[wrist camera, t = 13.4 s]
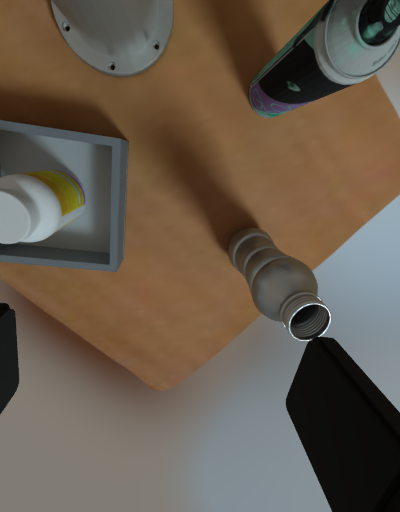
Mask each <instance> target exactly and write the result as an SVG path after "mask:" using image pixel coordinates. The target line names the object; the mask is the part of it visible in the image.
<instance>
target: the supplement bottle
mask: <svg viewBox="0 0 400 512" xmlns="http://www.w3.org/2000/svg"><path fill="white" fill-rule="evenodd" d="M86 203H87V197H86V192H85V190H84V187H83V186H82V184H81V183H80V181H79V180H78V179H77V178H76V177H74V176H73V175H71V174H70V173H68V172H65V171H62V170H55V169H54V170H44V171H37V172H29V173H21V174H12V175H7V176H4V177H1V178H0V243H2V244H13V243H17V242H19V241H20V242H37V241H41V240H44V239H46V238H48V237H49V236H51V235H52V234H54V233H55V232H57V231H58V230H60V229H61V228H63V227H64V226H66V225H68V224H69V223H71V222H72V221H74V220H75V219H77V218H78V217H79V216H80V215H81V214H82V213H83V212H84V210H85V207H86Z"/></svg>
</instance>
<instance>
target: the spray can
mask: <svg viewBox="0 0 400 512" xmlns="http://www.w3.org/2000/svg"><path fill="white" fill-rule="evenodd" d="M399 46H400V0H329V1H328V2H327V3H326V4H325V5H324V6H323V7H322V8H321V9H320V10H319V11H318V12H317V13H316V14H315V15H314V16H313V17H312V18H311V19H310V20H309V21H308V22H307V23H306V24H305V25H304V26H303V28H302V29H301V30H300V31H299V32H298V33H297V34H296V35H295V36H294V37H293V38H292V39H291V40H290V41H289V42H288V43H287V44H286V45H285V46H284V47H283V48H282V49H281V50H280V51H279V52H278V53H277V54H276V55H275V56H274V57H273V58H272V59H271V60H270V61H269V62H268V63H267V64H266V65H265V66H264V67H263V69H262V70H261V71H260V72H259V73H258V74H257V75H256V76H255V77H254V79H253V81H252V83H251V85H250V89H249V100H250V104H251V106H252V108H253V110H254V111H255V112H256V113H257V114H258V115H260V116H262V117H265V118H272V117H276V116H278V115H281V114H283V113H286V112H288V111H290V110H293V109H295V108H298V107H300V106H303V105H305V104H308V103H310V102H312V101H315V100H317V99H320V98H322V97H325V96H327V95H329V94H332V93H334V92H337V91H339V90H342V89H344V88H346V87H349V86H351V85H354V84H356V83H359V82H361V81H363V80H365V79H367V78H369V77H371V76H372V75H373V74H375V73H377V72H378V71H380V70H381V69H382V68H384V67H385V66H386V65H387V63H389V62H390V60H391V59H392V58H393V56H394V55H395V53H396V52H397V50H398V48H399Z"/></svg>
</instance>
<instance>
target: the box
mask: <svg viewBox="0 0 400 512" xmlns="http://www.w3.org/2000/svg"><path fill="white" fill-rule="evenodd" d="M128 144H129V141H126V140H123V139H120V138H113V137H107V136H100V135H94V134H87V133H81V132H74V131H68V130H61V129H55V128H48V127H42V126H35V125H29V124H22V123H16V122H9V121H3V120H0V178H1V177H4V176H7V175H12V174H21V173H29V172H37V171H44V170H54V169H55V170H62V171H65V172H68V173H70V174H71V175H73V176H74V177H76V178H77V179H78V180H79V181H80V183H81V184H82V186H83V187H84V190H85V192H86V197H87V203H86V207H85V210H84V212H83V213H82V214H81V215H80V216H79V217H78V218H77V219H75V220H74V221H72V222H71V223H69V224H68V225H66V226H64V227H63V228H61V229H60V230H58V231H57V232H55V233H54V234H52V235H51V236H49V237H48V238H46V239H44V240H41V241H37V242H20V241H19V242H17V243H13V244H2V243H0V262H10V263H21V264H33V265H44V266H55V267H67V268H78V269H89V270H101V271H112V272H117V270H118V268H119V266H120V264H121V263H122V261H123V259H124V241H125V217H126V192H127V168H128Z"/></svg>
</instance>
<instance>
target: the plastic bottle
mask: <svg viewBox="0 0 400 512" xmlns="http://www.w3.org/2000/svg"><path fill="white" fill-rule="evenodd" d="M228 255H229V260H230V262H231V264H232V265H233V266H234V267H235V268H236V269H237V270H238V271H239V272H241V273H242V275H243V276H244V277H245V279H246V281H247V283H248V285H249V288H250V292H251V295H252V299H253V301H254V304H255V306H256V308H257V309H258V310H259V311H260V312H261V313H262V314H263V315H264V316H266V317H268V318H269V319H271V320H274V321H278V322H281V323H282V324H283V326H284V327H285V328H286V329H287V330H288V332H289V333H290V335H291V336H292V337H293V338H295V339H296V340H299V341H310V340H312V339H313V338H314V337H316V336H319V337H320V336H321V335H322V334H324V333H325V332H326V330H327V329H328V327H329V325H330V323H331V313H330V311H329V309H328V307H327V306H326V305H325V304H324V303H323V302H322V300H321V299H320V298H319V296H318V295H317V293H318V285H317V281H316V278H315V276H314V274H313V272H312V270H311V269H310V268H309V267H308V266H307V265H306V264H304V263H303V262H301V261H299V260H297V259H295V258H293V257H291V256H288V255H286V254H284V253H283V252H282V251H280V250H279V249H278V248H277V247H276V246H275V245H274V242H273V241H272V239H271V237H270V236H269V235H268V234H267V233H266V232H265V231H263V230H261V229H258V228H252V227H250V228H244V229H242V230H240V231H238V232H237V233H236V234H235V235H234V236H233V237H232V239H231V240H230V243H229V246H228Z"/></svg>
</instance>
